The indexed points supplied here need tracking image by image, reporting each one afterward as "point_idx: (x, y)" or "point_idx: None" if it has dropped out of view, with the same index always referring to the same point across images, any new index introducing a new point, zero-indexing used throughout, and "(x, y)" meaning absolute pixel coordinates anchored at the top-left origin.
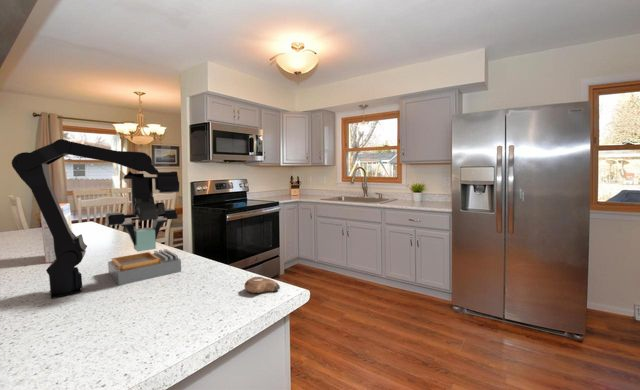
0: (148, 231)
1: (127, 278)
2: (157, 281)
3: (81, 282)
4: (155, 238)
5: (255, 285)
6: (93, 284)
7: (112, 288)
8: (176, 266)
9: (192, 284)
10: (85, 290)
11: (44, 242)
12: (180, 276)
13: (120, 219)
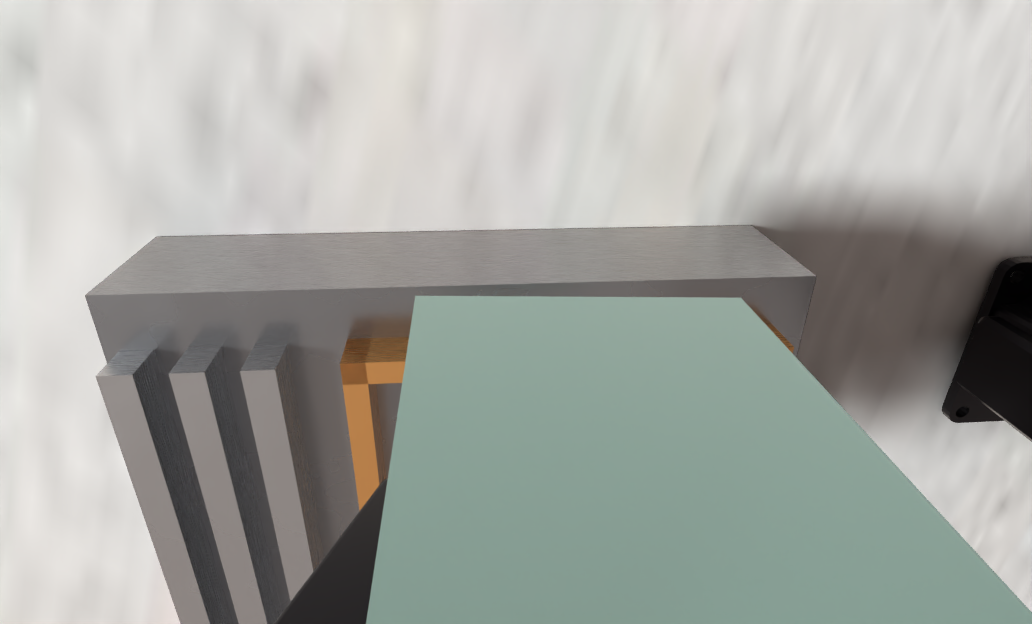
0: None
1: (697, 245)
2: (451, 74)
3: (1020, 338)
4: (365, 533)
5: None
6: (856, 390)
7: (815, 184)
8: (183, 261)
9: None
10: (953, 289)
11: None
12: (192, 55)
13: None
